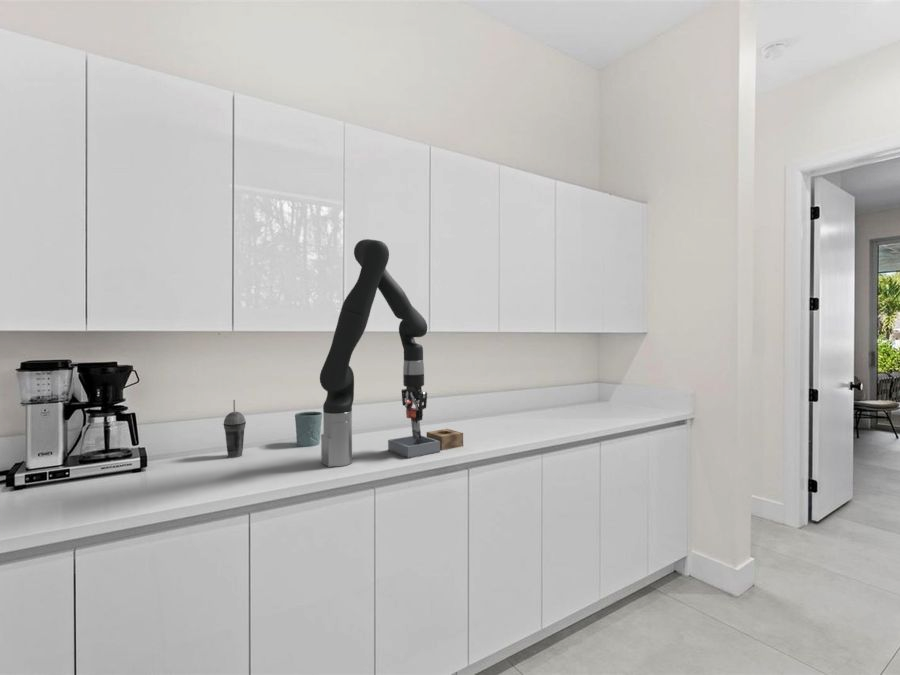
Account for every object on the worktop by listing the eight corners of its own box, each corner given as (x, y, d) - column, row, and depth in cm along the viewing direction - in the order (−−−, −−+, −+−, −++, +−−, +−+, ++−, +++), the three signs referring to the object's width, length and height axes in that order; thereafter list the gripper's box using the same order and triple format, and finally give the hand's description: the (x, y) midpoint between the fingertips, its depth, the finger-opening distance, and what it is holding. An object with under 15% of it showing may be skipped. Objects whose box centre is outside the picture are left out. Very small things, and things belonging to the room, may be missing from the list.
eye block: (442, 450, 171) (441, 436, 171) (426, 445, 179) (426, 432, 179) (463, 446, 178) (463, 432, 177) (447, 441, 185) (447, 428, 185)
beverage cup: (246, 452, 170) (246, 397, 169) (245, 457, 163) (245, 400, 163) (224, 454, 167) (223, 398, 167) (222, 459, 160) (222, 401, 160)
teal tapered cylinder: (290, 444, 182) (290, 413, 182) (314, 439, 189) (313, 410, 189) (303, 448, 175) (302, 416, 175) (327, 444, 182) (327, 413, 182)
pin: (428, 437, 169) (425, 406, 169) (414, 441, 166) (410, 409, 165) (419, 435, 174) (416, 404, 174) (405, 438, 171) (402, 407, 170)
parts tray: (408, 458, 160) (407, 446, 160) (388, 450, 171) (388, 439, 171) (440, 452, 169) (439, 441, 169) (419, 445, 180) (419, 434, 179)
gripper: (433, 373, 166) (434, 420, 166) (411, 371, 177) (412, 415, 178) (415, 374, 161) (416, 423, 162) (394, 372, 173) (395, 417, 173)
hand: (414, 419), depth 170 cm, fingers closed on pin, 6 cm apart
